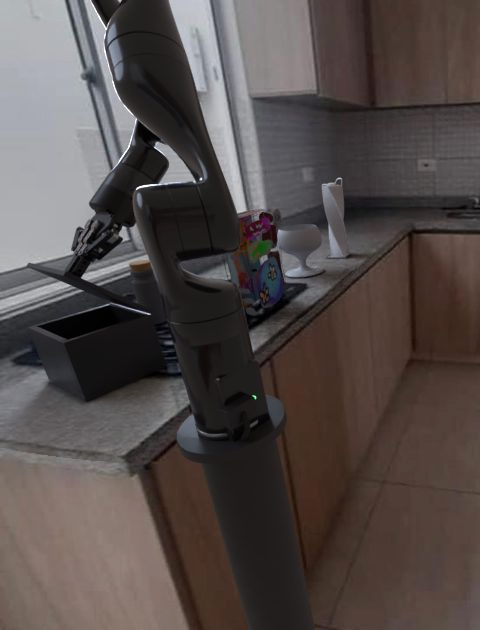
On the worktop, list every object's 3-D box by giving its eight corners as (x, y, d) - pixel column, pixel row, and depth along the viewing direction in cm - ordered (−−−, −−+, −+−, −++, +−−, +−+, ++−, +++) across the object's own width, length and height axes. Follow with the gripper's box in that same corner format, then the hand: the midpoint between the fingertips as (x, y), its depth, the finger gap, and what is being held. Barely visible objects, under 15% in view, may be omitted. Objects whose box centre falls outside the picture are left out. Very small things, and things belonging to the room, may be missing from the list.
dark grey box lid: (63, 275, 69) (65, 271, 69) (26, 266, 77) (28, 262, 77) (149, 313, 81) (152, 309, 81) (110, 302, 89) (112, 298, 89)
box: (283, 290, 128) (268, 204, 119) (303, 290, 127) (289, 204, 118) (235, 323, 105) (213, 220, 96) (259, 323, 104) (238, 219, 95)
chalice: (275, 279, 139) (266, 232, 134) (292, 267, 152) (285, 223, 146) (317, 279, 137) (311, 231, 132) (331, 267, 150) (326, 222, 145)
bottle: (162, 315, 113) (145, 258, 108) (175, 318, 110) (159, 260, 105) (138, 323, 109) (120, 264, 103) (152, 326, 106) (134, 266, 100)
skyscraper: (354, 253, 167) (346, 176, 157) (348, 259, 159) (339, 178, 149) (332, 254, 168) (323, 177, 158) (325, 259, 161) (315, 179, 150)
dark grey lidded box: (86, 402, 74) (63, 343, 70) (49, 381, 82) (27, 327, 78) (167, 366, 85) (151, 314, 81) (127, 351, 93) (112, 302, 89)
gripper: (87, 182, 81) (31, 262, 76) (122, 182, 75) (64, 270, 70) (125, 207, 88) (76, 283, 83) (161, 209, 81) (110, 292, 76)
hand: (70, 277), depth 76 cm, fingers closed
